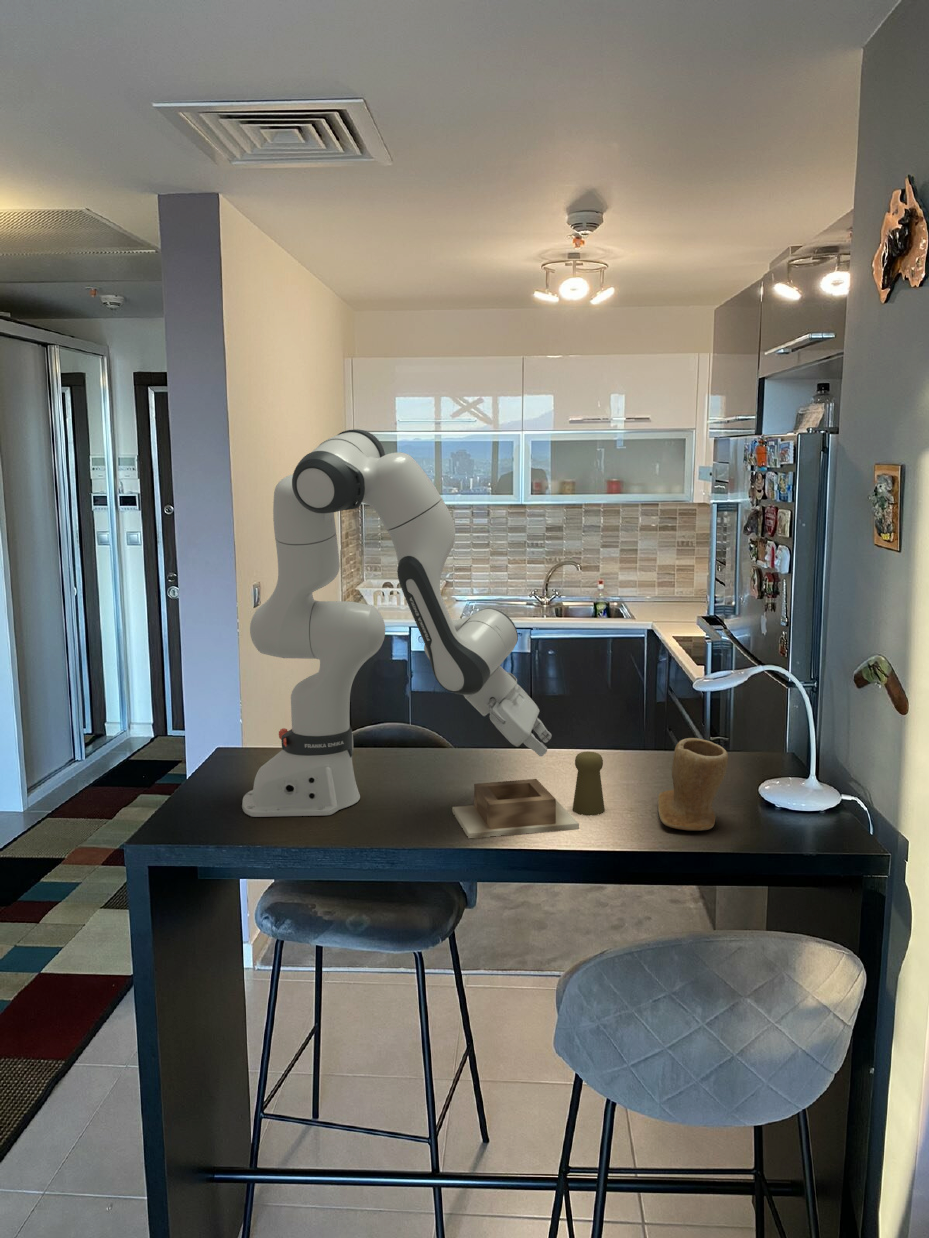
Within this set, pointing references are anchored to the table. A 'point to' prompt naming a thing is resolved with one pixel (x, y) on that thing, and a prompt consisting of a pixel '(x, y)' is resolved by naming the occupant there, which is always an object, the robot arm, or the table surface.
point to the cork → (588, 784)
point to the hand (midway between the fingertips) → (547, 746)
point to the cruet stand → (512, 810)
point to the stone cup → (693, 785)
